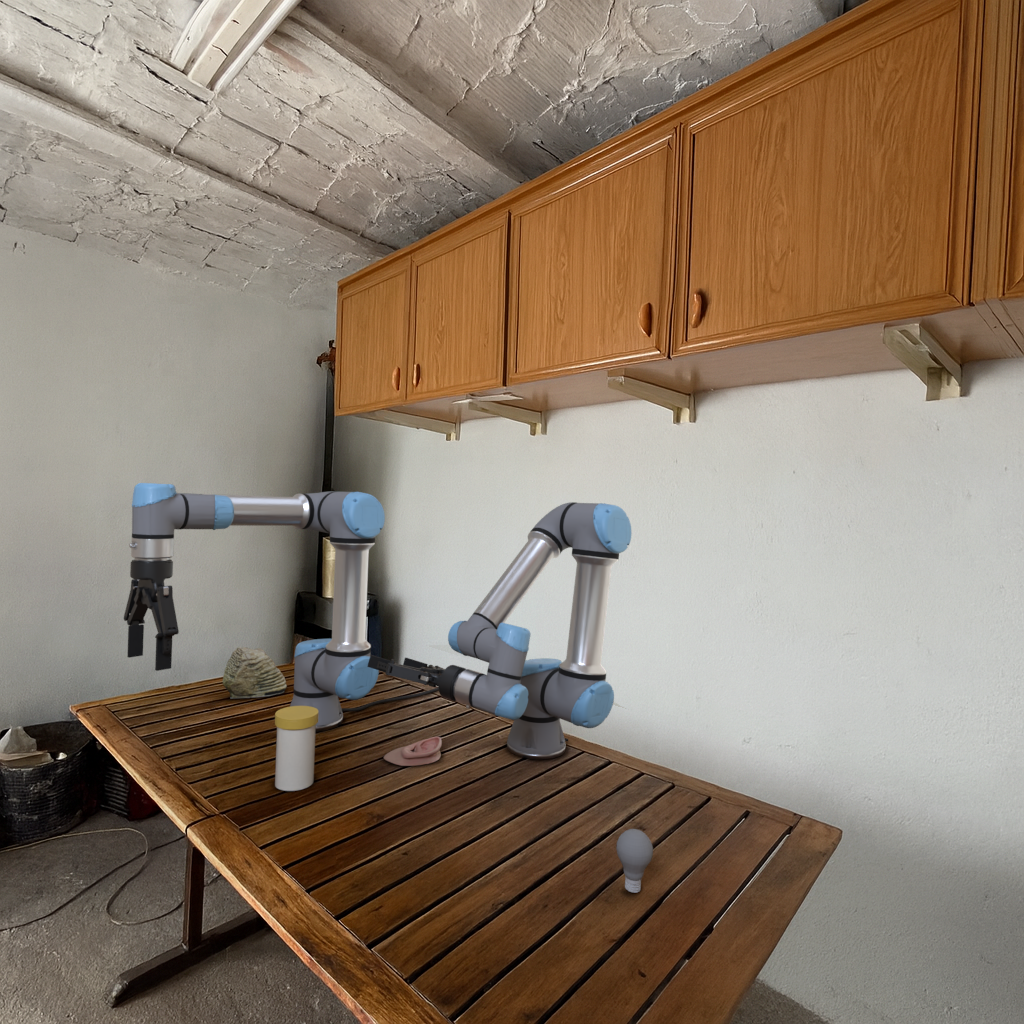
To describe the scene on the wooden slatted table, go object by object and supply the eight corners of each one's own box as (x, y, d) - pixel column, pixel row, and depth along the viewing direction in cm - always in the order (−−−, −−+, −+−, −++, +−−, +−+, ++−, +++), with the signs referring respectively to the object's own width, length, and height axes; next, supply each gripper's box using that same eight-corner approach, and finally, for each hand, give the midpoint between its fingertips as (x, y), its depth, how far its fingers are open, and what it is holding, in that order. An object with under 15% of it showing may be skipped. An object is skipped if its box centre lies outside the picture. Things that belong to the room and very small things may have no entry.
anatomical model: (378, 746, 151) (397, 729, 163) (378, 762, 151) (396, 745, 163) (431, 753, 149) (446, 735, 160) (431, 770, 149) (445, 751, 160)
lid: (302, 712, 146) (303, 702, 146) (326, 722, 140) (326, 712, 140) (266, 722, 139) (266, 712, 139) (290, 733, 133) (290, 722, 133)
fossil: (218, 695, 195) (220, 647, 195) (278, 685, 208) (279, 640, 207) (228, 703, 189) (230, 653, 188) (289, 692, 201) (290, 645, 201)
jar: (299, 771, 145) (302, 705, 145) (321, 782, 140) (323, 714, 140) (267, 782, 139) (269, 714, 139) (288, 794, 134) (291, 723, 134)
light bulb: (610, 879, 108) (613, 822, 108) (644, 879, 109) (647, 822, 109) (619, 902, 102) (622, 840, 102) (655, 901, 103) (658, 840, 103)
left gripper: (108, 554, 134) (104, 654, 134) (159, 565, 118) (155, 678, 119) (146, 552, 140) (143, 648, 140) (199, 563, 124) (195, 671, 124)
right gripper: (426, 703, 130) (349, 676, 140) (484, 701, 152) (413, 678, 162) (435, 666, 131) (358, 643, 141) (491, 670, 153) (421, 649, 163)
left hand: (148, 662), depth 129 cm, fingers open, 13 cm apart
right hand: (387, 661), depth 152 cm, fingers open, 13 cm apart
